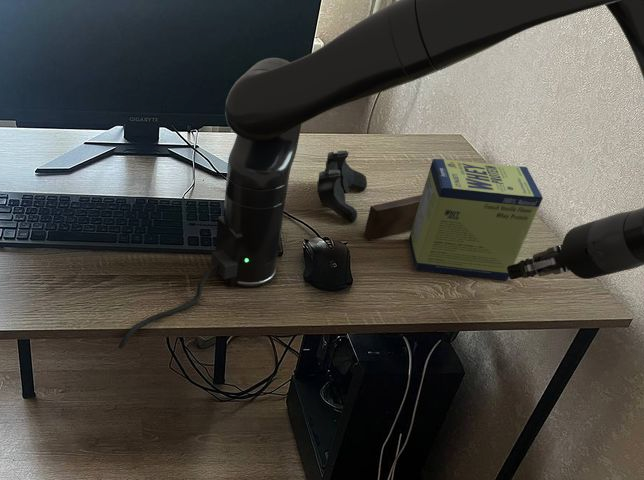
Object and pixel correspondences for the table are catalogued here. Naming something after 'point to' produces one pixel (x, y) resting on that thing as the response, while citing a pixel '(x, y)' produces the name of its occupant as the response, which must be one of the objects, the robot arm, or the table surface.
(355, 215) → the game controller
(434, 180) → the protein box
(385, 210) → the bar
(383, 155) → the table surface
